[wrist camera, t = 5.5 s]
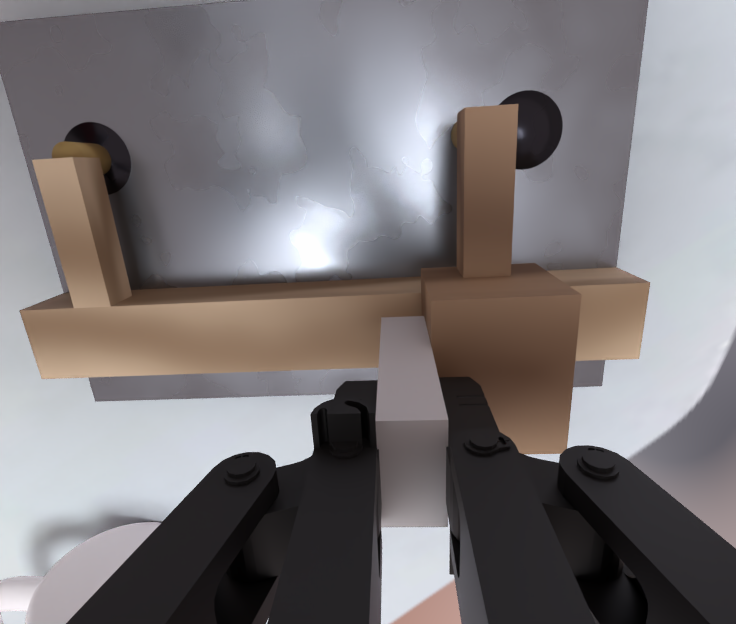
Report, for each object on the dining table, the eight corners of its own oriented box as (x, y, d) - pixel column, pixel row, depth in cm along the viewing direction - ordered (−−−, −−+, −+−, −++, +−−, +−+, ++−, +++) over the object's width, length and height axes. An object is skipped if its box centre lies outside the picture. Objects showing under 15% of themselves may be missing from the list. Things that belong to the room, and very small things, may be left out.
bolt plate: (12, 32, 18) (-15, 23, 16) (633, -22, 16) (652, -36, 15) (110, 389, 23) (95, 401, 21) (590, 374, 21) (601, 386, 20)
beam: (22, 148, 18) (-34, 145, 15) (635, 106, 16) (677, 95, 14) (81, 354, 21) (41, 379, 18) (607, 334, 19) (639, 358, 17)
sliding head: (413, 120, 16) (427, 94, 10) (521, 113, 16) (602, 81, 10) (419, 365, 20) (432, 456, 13) (510, 362, 19) (566, 453, 13)
